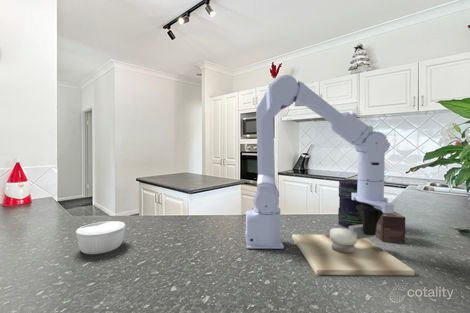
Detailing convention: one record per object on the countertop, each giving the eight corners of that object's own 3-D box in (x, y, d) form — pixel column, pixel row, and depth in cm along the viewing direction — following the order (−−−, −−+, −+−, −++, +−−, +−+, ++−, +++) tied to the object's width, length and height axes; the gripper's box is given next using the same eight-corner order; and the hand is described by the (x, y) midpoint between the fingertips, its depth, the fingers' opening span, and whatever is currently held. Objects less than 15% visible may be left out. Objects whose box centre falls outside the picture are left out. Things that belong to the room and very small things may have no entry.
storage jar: (344, 219, 87) (345, 179, 86) (374, 225, 79) (375, 181, 79) (332, 224, 80) (333, 181, 79) (363, 232, 73) (365, 184, 72)
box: (405, 243, 64) (406, 217, 64) (381, 242, 65) (382, 215, 65) (395, 236, 70) (395, 211, 70) (373, 234, 71) (373, 210, 71)
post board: (316, 274, 48) (316, 260, 47) (292, 237, 68) (292, 227, 67) (414, 275, 48) (414, 260, 48) (361, 238, 68) (361, 228, 68)
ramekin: (107, 236, 68) (107, 218, 68) (135, 243, 63) (135, 224, 63) (65, 251, 58) (65, 230, 58) (94, 261, 53) (94, 237, 53)
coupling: (343, 246, 54) (343, 233, 54) (324, 237, 59) (324, 225, 59) (381, 239, 58) (382, 227, 58) (361, 231, 64) (361, 220, 64)
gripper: (408, 184, 51) (406, 246, 51) (369, 177, 65) (368, 225, 66) (375, 184, 51) (374, 246, 51) (344, 176, 65) (343, 225, 66)
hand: (369, 234), depth 58 cm, fingers closed, pressing on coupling
